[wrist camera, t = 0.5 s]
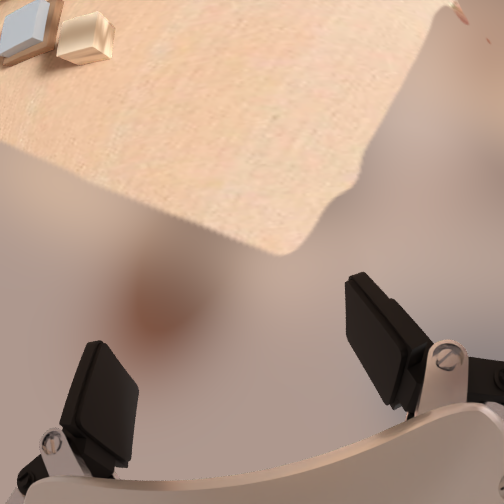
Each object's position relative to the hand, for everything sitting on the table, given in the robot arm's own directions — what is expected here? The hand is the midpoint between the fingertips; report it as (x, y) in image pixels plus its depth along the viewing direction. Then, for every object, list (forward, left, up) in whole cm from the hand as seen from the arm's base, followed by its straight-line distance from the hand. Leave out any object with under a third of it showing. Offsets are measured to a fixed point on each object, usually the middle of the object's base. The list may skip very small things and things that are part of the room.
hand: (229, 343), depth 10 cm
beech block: (-21, -17, -30) cm, 40 cm away
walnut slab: (-27, -29, -30) cm, 49 cm away
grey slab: (-27, -29, -27) cm, 48 cm away
